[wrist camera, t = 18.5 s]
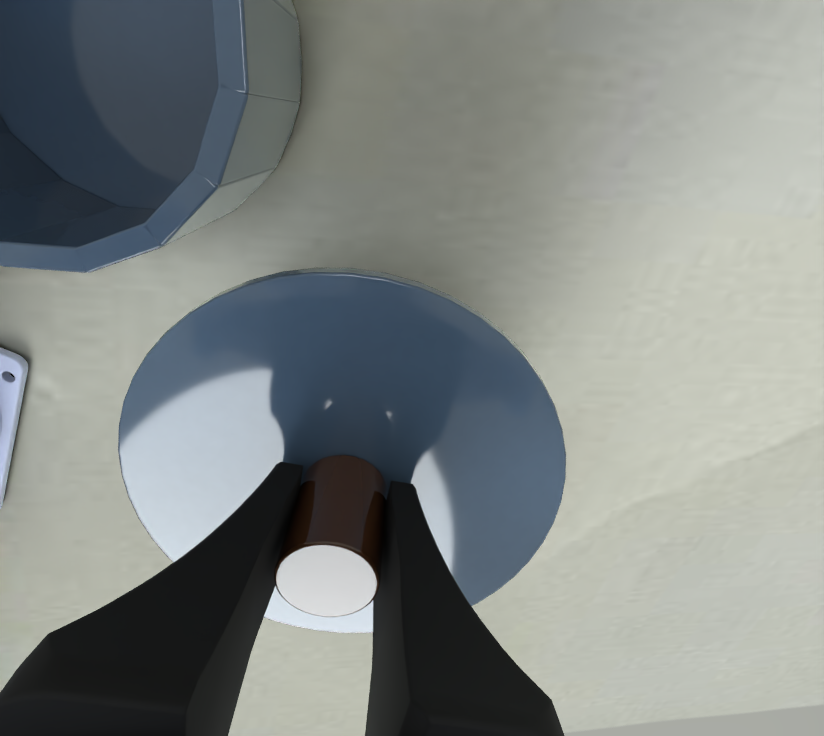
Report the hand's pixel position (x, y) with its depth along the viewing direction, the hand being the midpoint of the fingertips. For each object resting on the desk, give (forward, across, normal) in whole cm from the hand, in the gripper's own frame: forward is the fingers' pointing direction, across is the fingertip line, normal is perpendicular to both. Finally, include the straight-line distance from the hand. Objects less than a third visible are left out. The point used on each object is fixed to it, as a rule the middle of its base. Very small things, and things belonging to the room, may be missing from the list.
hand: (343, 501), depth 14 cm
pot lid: (+1, 0, 0) cm, 1 cm away
